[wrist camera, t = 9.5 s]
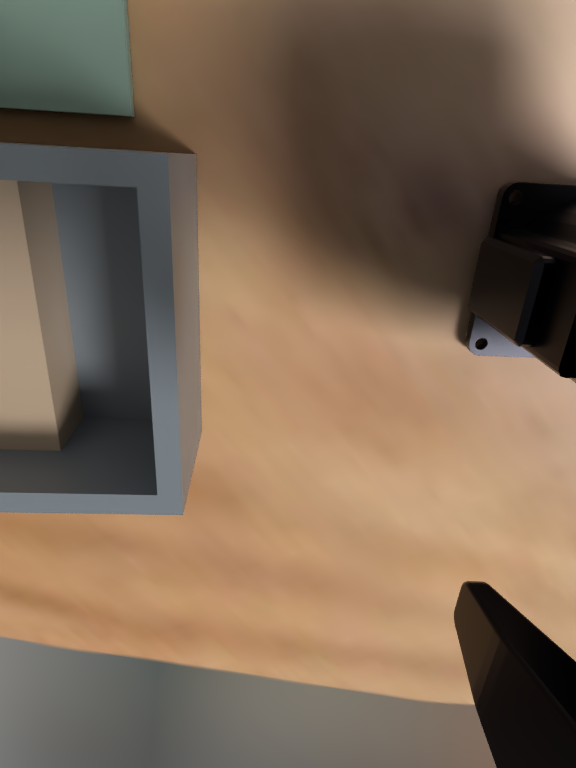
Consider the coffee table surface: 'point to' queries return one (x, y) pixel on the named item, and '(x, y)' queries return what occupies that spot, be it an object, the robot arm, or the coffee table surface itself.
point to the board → (66, 56)
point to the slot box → (98, 330)
